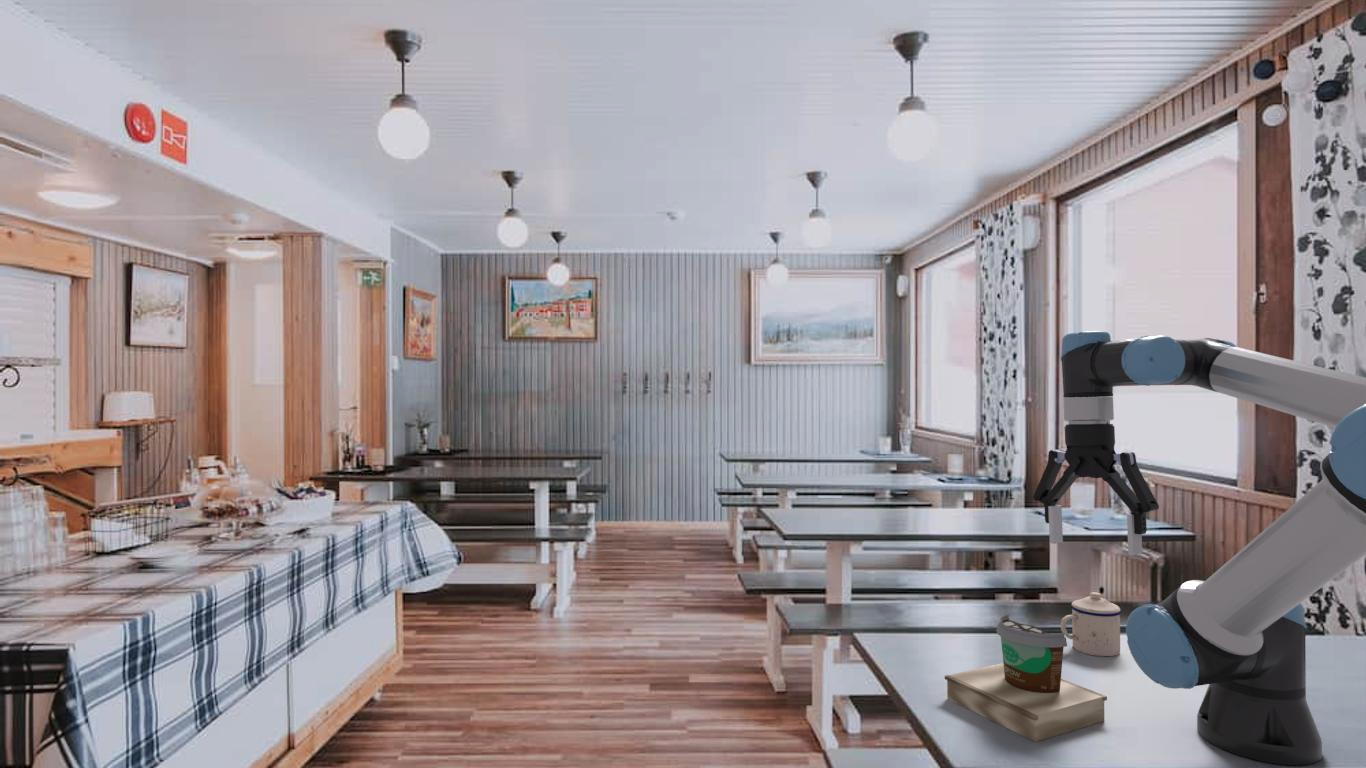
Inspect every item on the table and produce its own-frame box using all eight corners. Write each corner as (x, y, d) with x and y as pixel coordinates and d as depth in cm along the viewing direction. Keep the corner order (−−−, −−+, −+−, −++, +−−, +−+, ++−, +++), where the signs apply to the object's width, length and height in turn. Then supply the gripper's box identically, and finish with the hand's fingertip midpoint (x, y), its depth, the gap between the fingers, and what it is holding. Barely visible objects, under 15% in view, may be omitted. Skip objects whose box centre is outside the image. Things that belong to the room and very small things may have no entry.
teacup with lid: (1102, 641, 160) (1102, 586, 160) (1131, 656, 151) (1131, 598, 151) (1049, 643, 159) (1048, 588, 159) (1075, 659, 150) (1074, 600, 150)
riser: (1107, 721, 122) (1106, 696, 122) (1034, 742, 115) (1034, 716, 115) (1013, 681, 139) (1013, 659, 139) (944, 698, 132) (944, 675, 132)
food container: (980, 675, 132) (980, 618, 132) (1006, 669, 134) (1005, 613, 134) (1041, 702, 120) (1040, 639, 120) (1067, 695, 123) (1067, 633, 123)
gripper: (1179, 422, 120) (1185, 556, 119) (1035, 422, 141) (1039, 536, 140) (1154, 423, 116) (1160, 562, 115) (1010, 423, 137) (1014, 540, 136)
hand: (1094, 548), depth 128 cm, fingers open, 13 cm apart
